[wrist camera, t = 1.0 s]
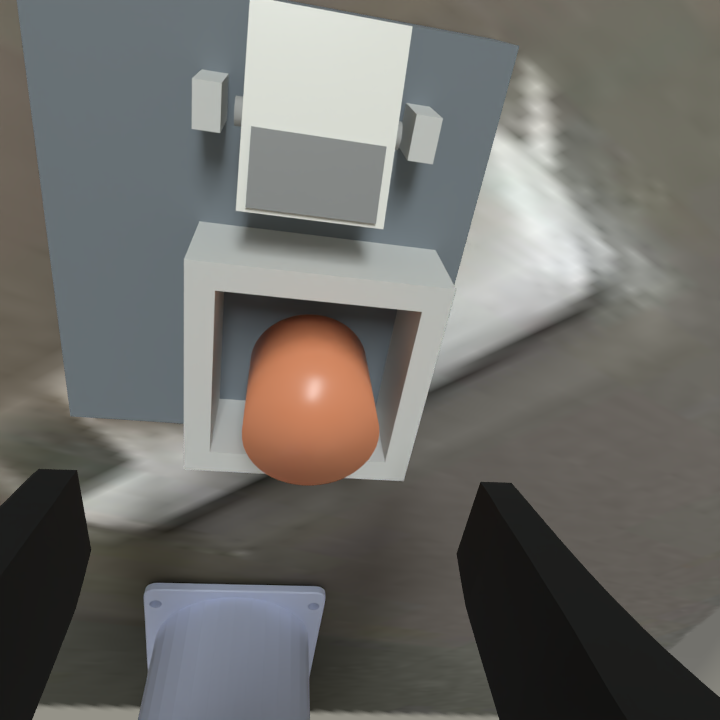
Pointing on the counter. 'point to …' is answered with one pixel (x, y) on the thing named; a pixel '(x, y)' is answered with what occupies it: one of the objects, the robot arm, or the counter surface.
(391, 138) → the rocker
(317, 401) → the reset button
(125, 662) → the counter surface
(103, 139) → the breaker panel
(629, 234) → the counter surface
